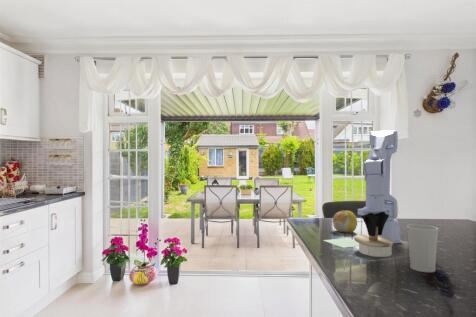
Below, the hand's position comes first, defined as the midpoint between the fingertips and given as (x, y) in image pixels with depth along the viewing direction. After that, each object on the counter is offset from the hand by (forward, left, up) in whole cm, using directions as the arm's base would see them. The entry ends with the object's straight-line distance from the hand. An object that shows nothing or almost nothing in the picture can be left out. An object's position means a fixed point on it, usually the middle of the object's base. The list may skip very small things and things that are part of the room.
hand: (375, 235), depth 107 cm
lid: (0, -1, -2) cm, 2 cm away
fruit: (-13, -31, -6) cm, 34 cm away
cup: (-1, +17, -6) cm, 18 cm away
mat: (0, -15, -6) cm, 16 cm away
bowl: (0, 0, -6) cm, 6 cm away
